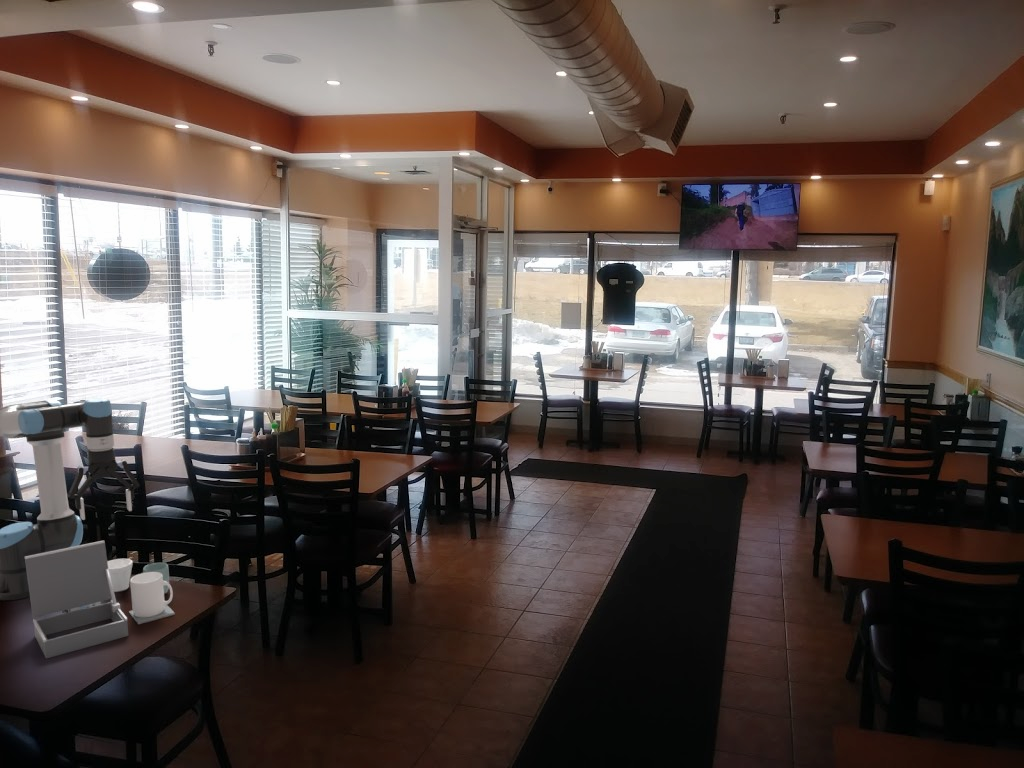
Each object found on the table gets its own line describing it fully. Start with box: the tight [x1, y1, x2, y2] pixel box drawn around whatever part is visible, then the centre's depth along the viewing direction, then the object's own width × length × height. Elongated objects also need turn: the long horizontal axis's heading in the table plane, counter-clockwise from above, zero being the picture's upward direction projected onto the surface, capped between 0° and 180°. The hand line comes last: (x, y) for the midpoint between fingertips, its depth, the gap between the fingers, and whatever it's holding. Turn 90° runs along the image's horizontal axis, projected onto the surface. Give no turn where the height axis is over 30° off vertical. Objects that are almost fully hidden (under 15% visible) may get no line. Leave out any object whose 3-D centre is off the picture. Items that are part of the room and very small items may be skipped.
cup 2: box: [142, 562, 170, 595], centre depth 276 cm, size 8×8×10 cm
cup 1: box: [107, 558, 134, 593], centre depth 281 cm, size 10×10×9 cm
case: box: [32, 569, 129, 659], centre depth 245 cm, size 20×23×16 cm
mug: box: [129, 572, 174, 618], centre depth 261 cm, size 10×12×12 cm
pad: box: [128, 604, 176, 625], centre depth 261 cm, size 11×11×1 cm
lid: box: [25, 540, 112, 619], centre depth 252 cm, size 19×22×1 cm
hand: (106, 514), depth 256 cm, fingers open, 13 cm apart
